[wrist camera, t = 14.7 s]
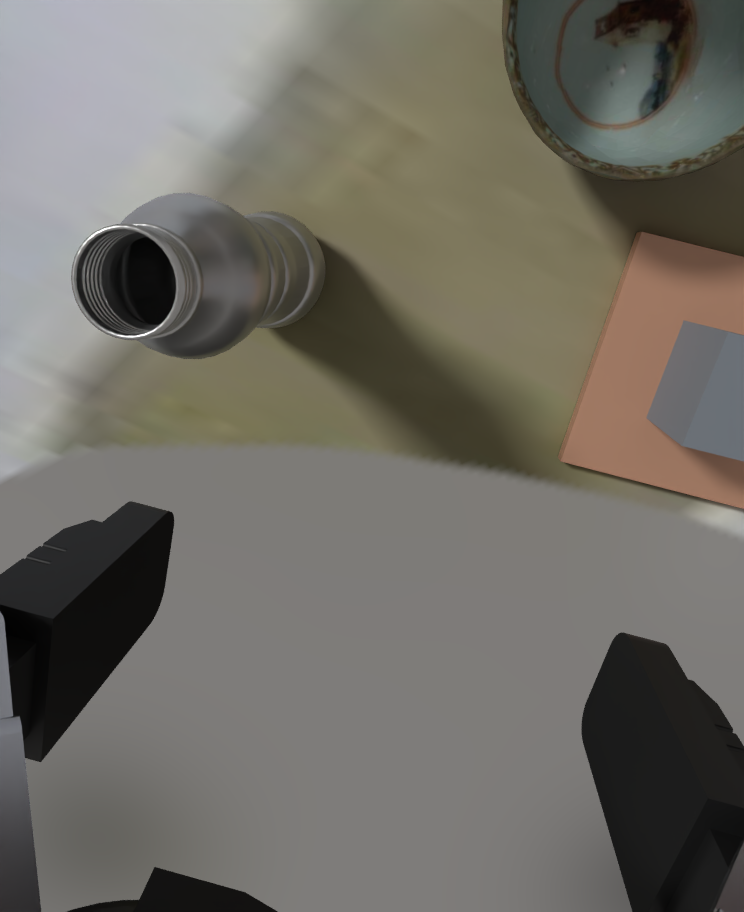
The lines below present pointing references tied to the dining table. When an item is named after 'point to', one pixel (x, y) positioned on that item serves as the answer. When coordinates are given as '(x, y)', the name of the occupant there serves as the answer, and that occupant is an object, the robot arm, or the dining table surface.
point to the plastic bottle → (196, 275)
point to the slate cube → (703, 391)
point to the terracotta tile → (655, 369)
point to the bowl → (630, 81)
